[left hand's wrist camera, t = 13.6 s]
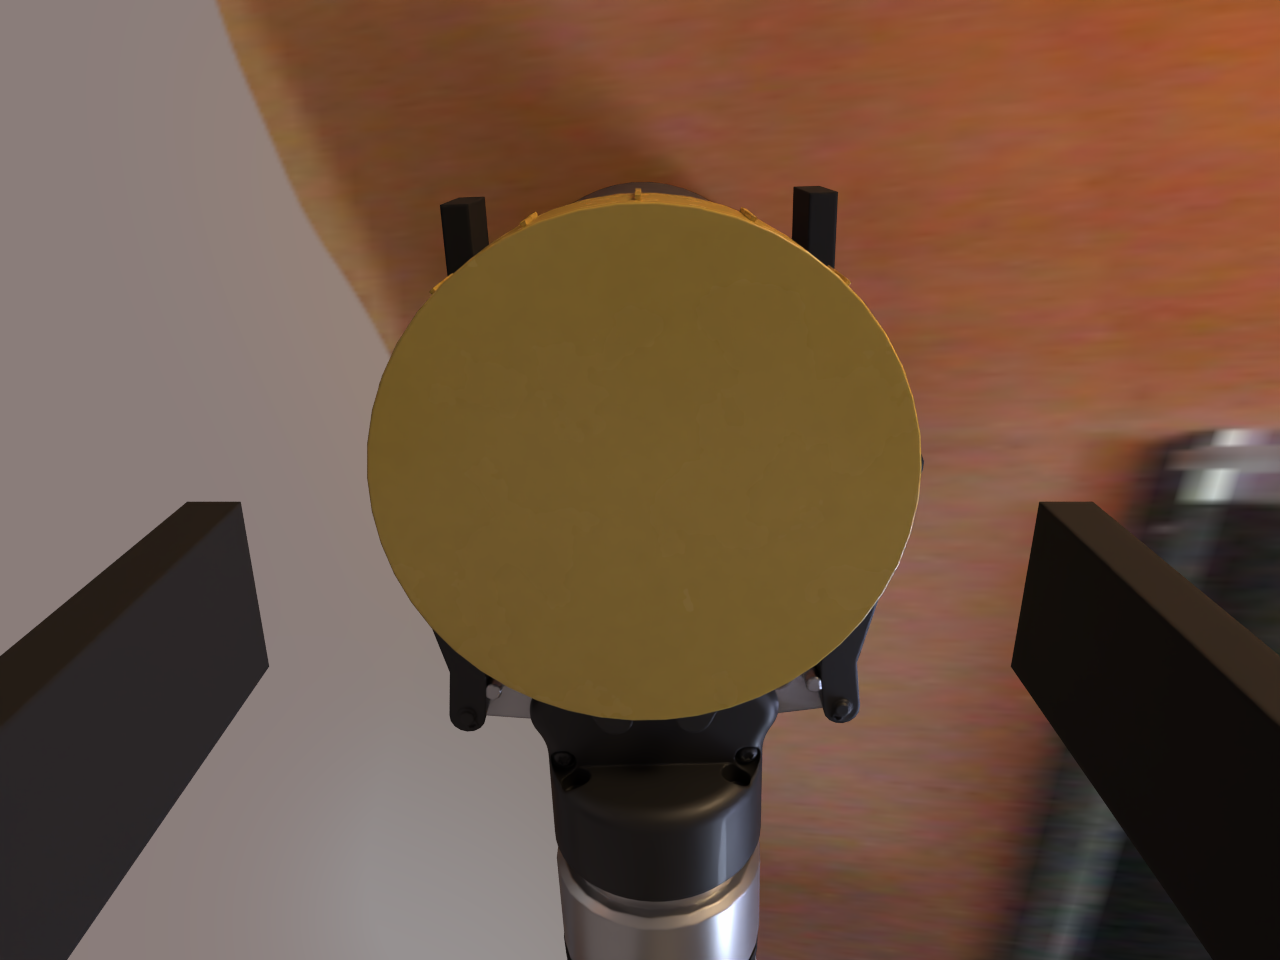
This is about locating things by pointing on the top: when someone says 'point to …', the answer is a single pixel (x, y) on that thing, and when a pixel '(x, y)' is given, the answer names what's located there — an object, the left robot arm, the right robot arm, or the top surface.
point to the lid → (644, 458)
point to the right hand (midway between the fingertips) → (638, 195)
